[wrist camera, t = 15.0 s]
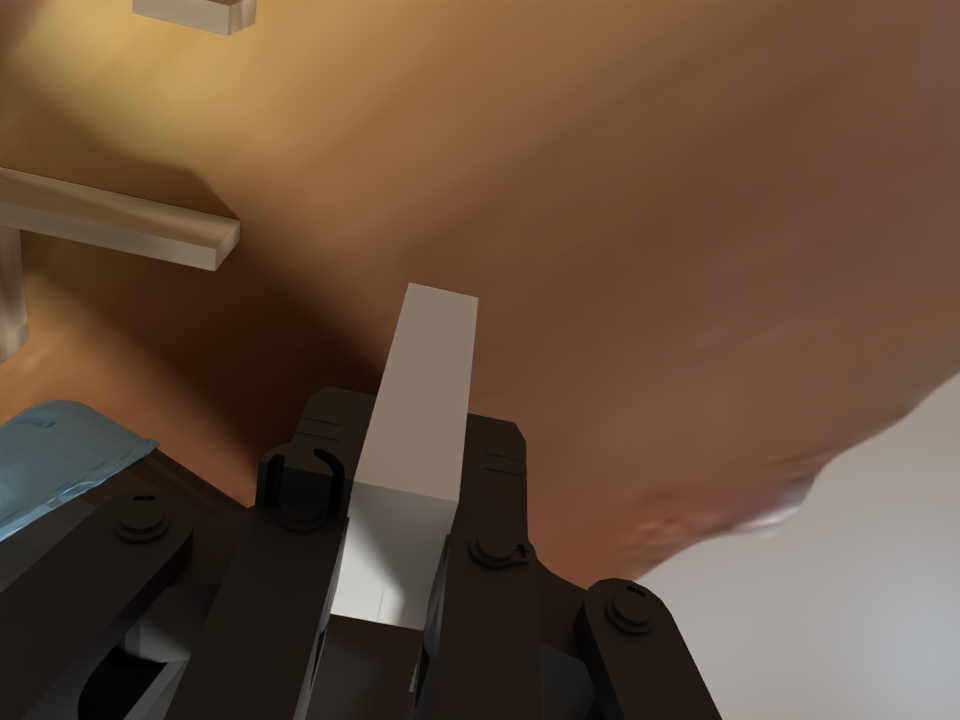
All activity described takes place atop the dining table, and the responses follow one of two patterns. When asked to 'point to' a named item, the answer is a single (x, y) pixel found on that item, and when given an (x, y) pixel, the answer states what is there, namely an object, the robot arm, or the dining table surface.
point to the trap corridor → (112, 198)
